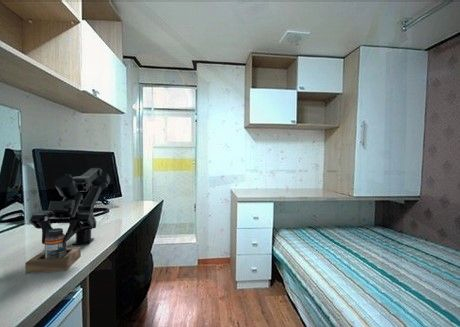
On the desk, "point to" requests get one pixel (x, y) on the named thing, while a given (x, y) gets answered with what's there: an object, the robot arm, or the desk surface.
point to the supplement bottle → (55, 244)
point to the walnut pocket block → (52, 262)
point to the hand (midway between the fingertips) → (53, 243)
